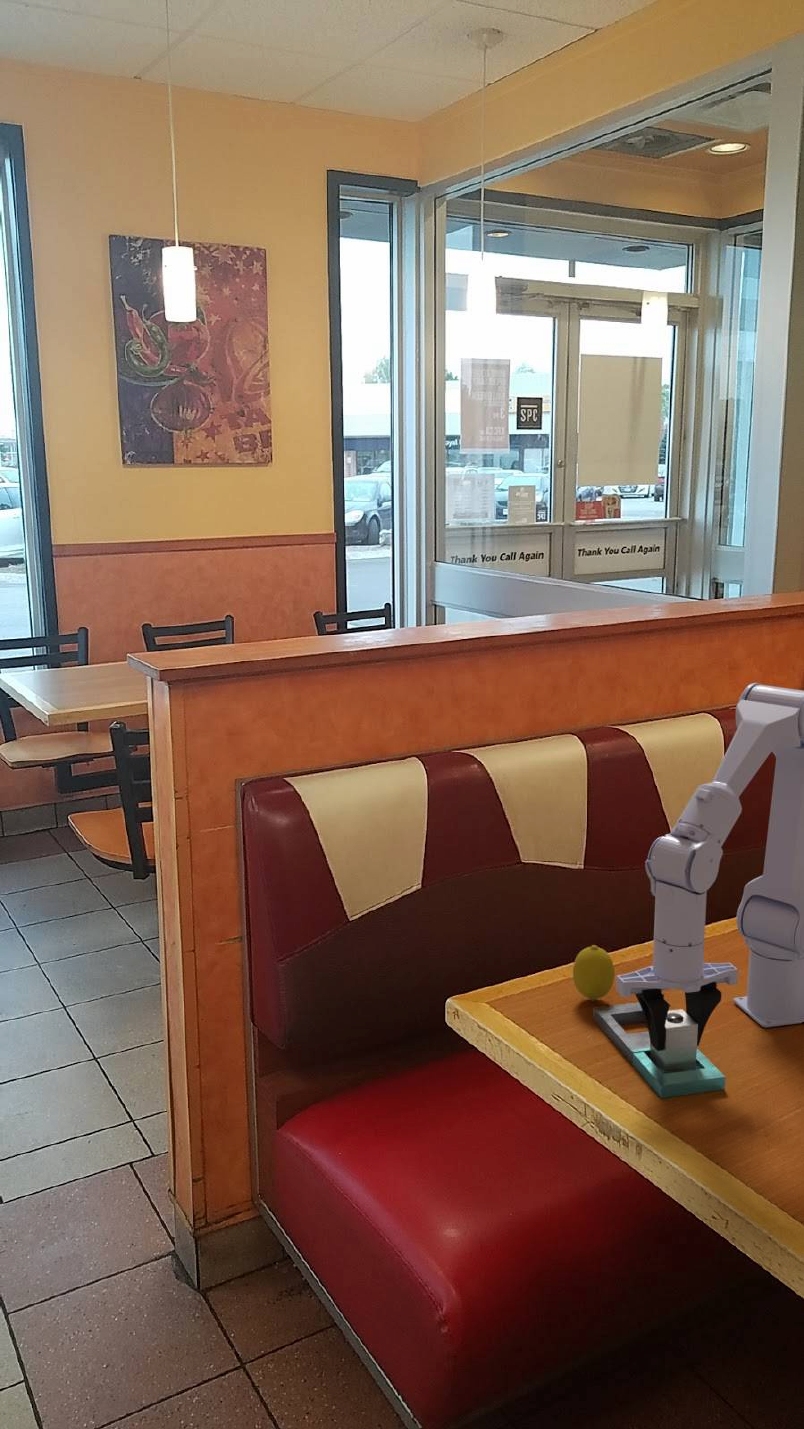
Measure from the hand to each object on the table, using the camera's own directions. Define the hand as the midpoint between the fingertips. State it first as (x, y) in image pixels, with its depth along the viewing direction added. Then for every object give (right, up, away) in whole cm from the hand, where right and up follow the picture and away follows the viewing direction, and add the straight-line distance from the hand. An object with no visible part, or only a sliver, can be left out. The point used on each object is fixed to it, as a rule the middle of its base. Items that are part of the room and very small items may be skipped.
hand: (674, 1044), depth 134 cm
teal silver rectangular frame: (-1, -3, +5) cm, 6 cm away
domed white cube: (0, -3, +1) cm, 3 cm away
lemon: (-6, 0, +19) cm, 20 cm away
